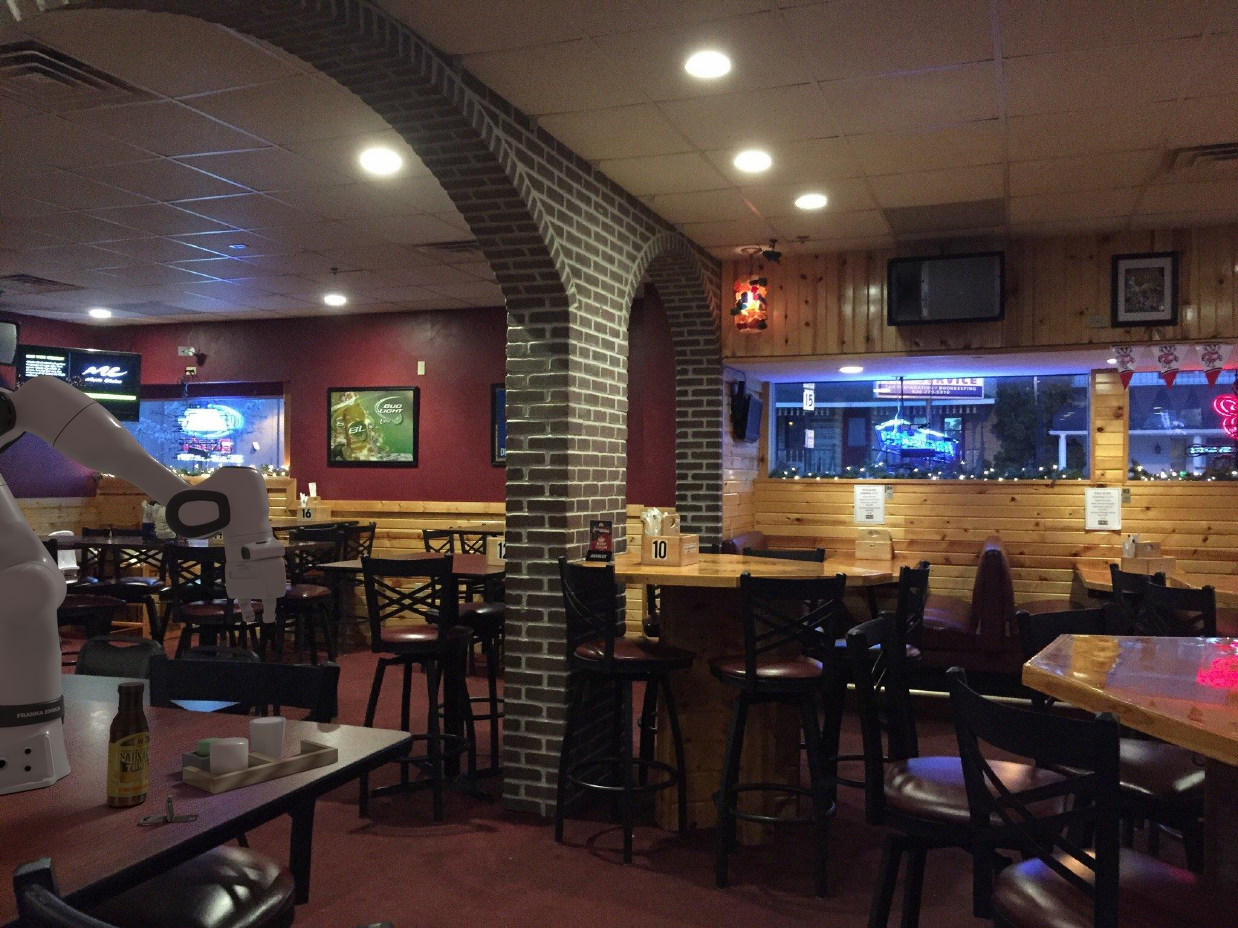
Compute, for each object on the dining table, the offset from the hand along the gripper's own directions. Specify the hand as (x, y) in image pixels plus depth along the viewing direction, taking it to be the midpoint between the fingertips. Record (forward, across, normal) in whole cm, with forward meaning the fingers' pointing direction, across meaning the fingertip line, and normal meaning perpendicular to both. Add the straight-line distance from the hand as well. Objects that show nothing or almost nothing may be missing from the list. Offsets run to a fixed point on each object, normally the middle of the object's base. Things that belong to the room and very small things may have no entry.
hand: (259, 621), depth 190 cm
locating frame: (+27, +2, -4) cm, 27 cm away
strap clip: (+27, +18, -26) cm, 41 cm away
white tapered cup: (+27, -7, +1) cm, 28 cm away
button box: (+26, -6, -10) cm, 28 cm away
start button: (+23, -5, -10) cm, 26 cm away
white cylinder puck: (+27, +4, -11) cm, 29 cm away
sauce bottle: (+25, +4, -28) cm, 38 cm away
